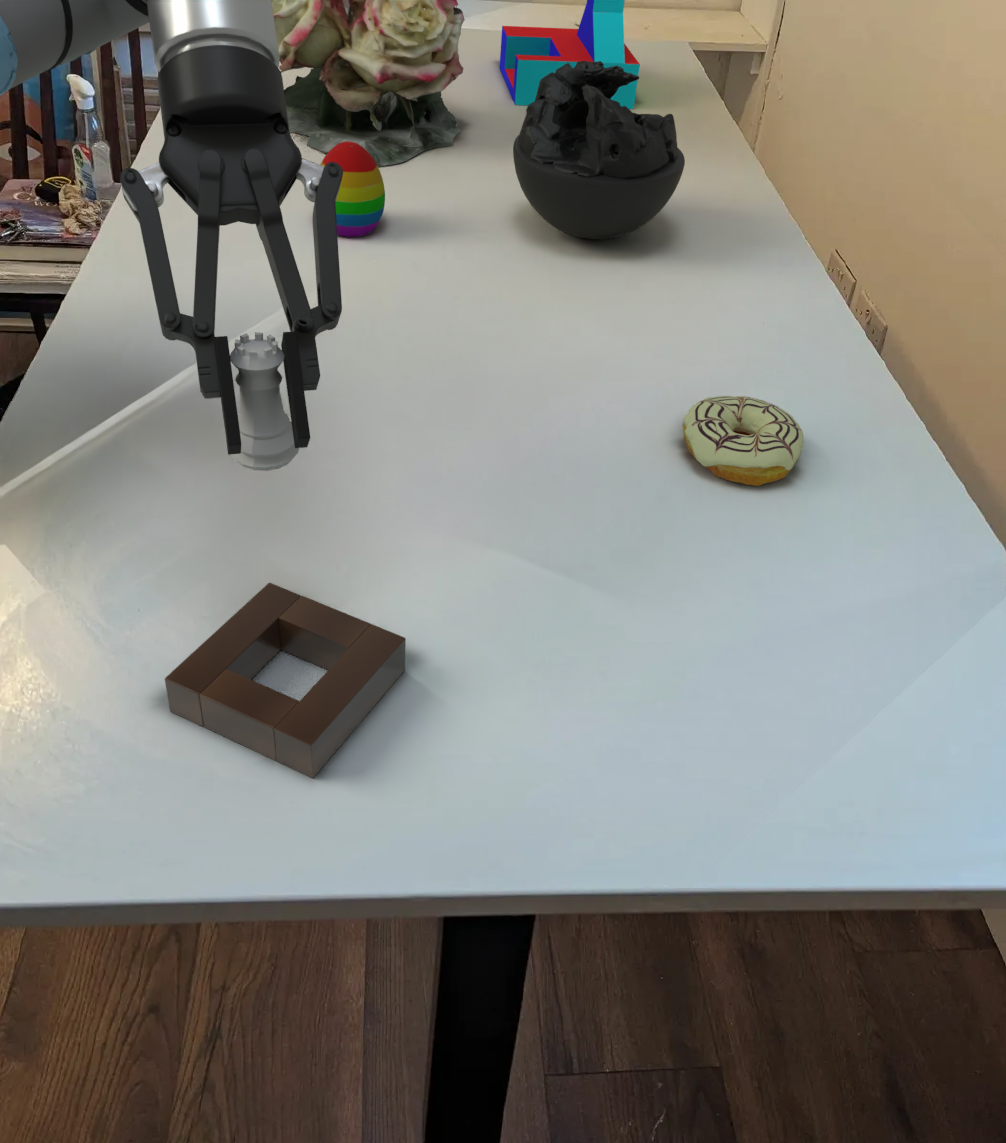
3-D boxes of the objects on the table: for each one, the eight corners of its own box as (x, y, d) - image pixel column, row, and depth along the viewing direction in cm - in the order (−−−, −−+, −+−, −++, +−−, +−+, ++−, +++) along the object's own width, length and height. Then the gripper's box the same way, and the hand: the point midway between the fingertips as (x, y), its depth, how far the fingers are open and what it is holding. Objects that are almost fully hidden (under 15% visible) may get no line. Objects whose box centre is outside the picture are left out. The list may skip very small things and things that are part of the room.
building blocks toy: (602, 62, 195) (616, -57, 183) (633, 108, 176) (651, -21, 164) (495, 58, 192) (502, -63, 181) (514, 105, 173) (524, -27, 162)
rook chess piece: (287, 478, 70) (280, 365, 65) (218, 468, 71) (206, 354, 66) (308, 440, 74) (303, 330, 69) (242, 431, 74) (232, 320, 69)
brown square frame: (169, 711, 72) (163, 678, 70) (271, 614, 80) (269, 581, 78) (313, 778, 69) (311, 745, 67) (405, 670, 76) (405, 637, 75)
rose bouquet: (237, 124, 158) (217, -124, 139) (401, 93, 174) (404, -134, 155) (346, 182, 144) (341, -85, 125) (513, 142, 160) (531, -100, 141)
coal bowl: (583, 189, 148) (601, 36, 136) (704, 240, 137) (734, 79, 125) (473, 224, 136) (481, 60, 124) (595, 283, 126) (617, 110, 114)
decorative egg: (325, 245, 129) (322, 157, 122) (307, 217, 134) (304, 132, 128) (393, 239, 131) (394, 153, 125) (373, 212, 137) (373, 128, 131)
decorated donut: (688, 488, 96) (695, 450, 93) (672, 421, 104) (678, 385, 102) (808, 493, 96) (819, 456, 94) (783, 426, 105) (792, 391, 102)
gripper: (345, 101, 75) (394, 446, 73) (85, 105, 71) (131, 471, 69) (358, 37, 68) (413, 419, 66) (70, 38, 63) (120, 446, 62)
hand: (268, 445), depth 67 cm, fingers closed on rook chess piece, 3 cm apart
